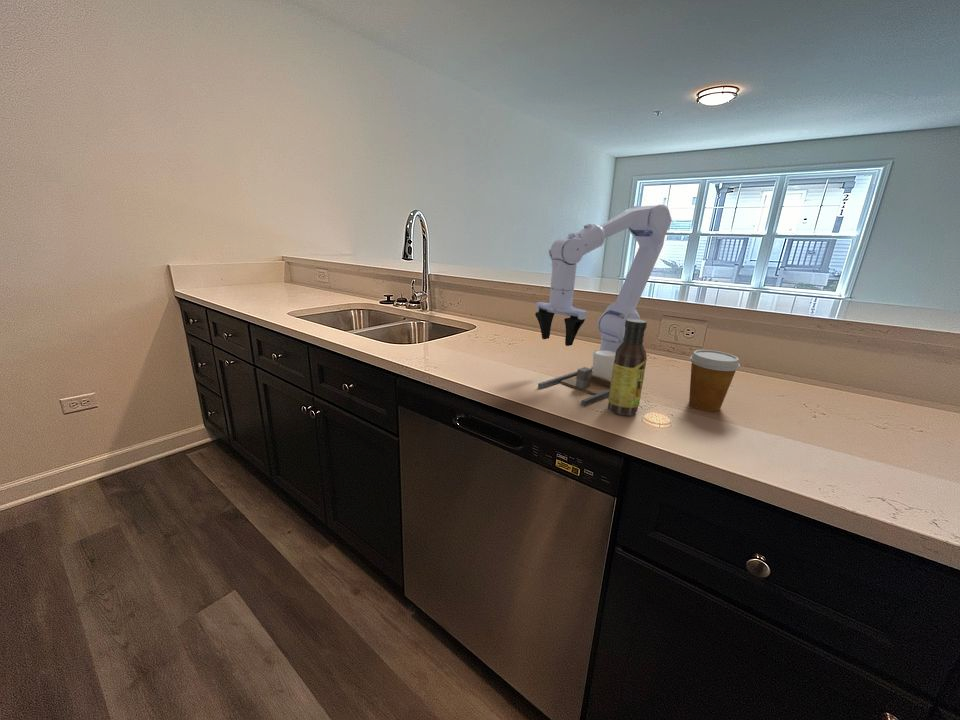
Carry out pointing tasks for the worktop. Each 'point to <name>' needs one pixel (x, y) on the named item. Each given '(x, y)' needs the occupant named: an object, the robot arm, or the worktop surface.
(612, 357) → the white cup
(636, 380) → the sauce bottle
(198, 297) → the worktop surface
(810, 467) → the worktop surface
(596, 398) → the lane rails
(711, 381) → the disposable coffee cup
